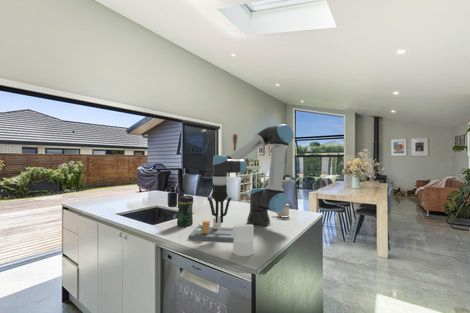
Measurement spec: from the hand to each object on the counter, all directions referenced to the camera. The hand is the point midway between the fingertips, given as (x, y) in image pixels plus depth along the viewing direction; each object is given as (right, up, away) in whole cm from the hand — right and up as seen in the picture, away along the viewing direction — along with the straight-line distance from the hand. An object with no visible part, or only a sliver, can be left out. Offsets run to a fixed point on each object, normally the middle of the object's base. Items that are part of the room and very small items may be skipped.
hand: (219, 228), depth 126 cm
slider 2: (-2, -2, +9) cm, 10 cm away
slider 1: (-7, -2, 0) cm, 8 cm away
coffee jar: (-23, -5, +23) cm, 33 cm away
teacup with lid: (+43, -7, +53) cm, 69 cm away
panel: (-3, -5, +4) cm, 7 cm away
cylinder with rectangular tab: (+12, -5, -19) cm, 23 cm away
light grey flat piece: (-9, -1, +10) cm, 14 cm away
